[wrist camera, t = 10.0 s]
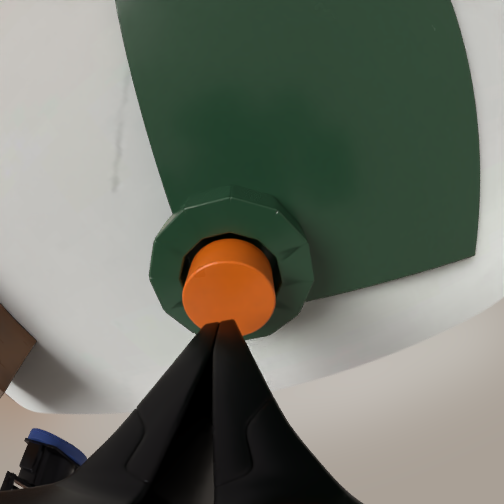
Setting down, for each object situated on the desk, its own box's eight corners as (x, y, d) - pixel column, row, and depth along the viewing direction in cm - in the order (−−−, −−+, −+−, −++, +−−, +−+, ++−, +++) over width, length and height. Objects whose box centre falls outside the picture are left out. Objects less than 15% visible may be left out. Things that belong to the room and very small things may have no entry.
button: (279, 299, 11) (283, 329, 10) (204, 313, 12) (199, 343, 10) (262, 228, 10) (264, 251, 9) (179, 248, 10) (168, 273, 9)
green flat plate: (468, 249, 13) (494, 272, 11) (191, 316, 14) (183, 351, 12) (408, -73, 5) (430, -92, 3) (89, -32, 7) (63, -50, 4)
